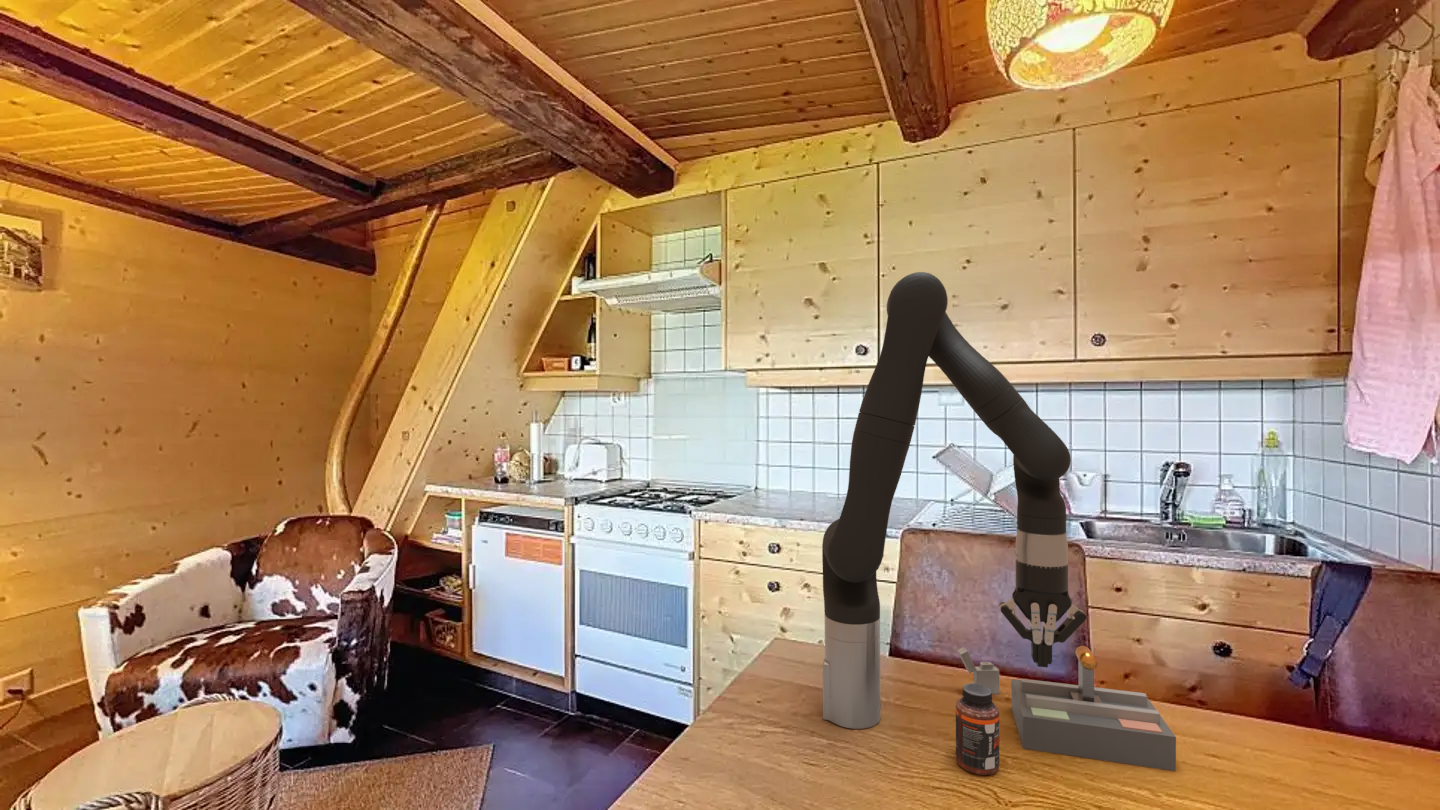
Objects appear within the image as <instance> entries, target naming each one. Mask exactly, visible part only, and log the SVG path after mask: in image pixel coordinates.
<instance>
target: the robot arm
mask: <svg viewBox="0 0 1440 810" xmlns="http://www.w3.org/2000/svg"><path fill="white" fill-rule="evenodd" d="M948 305H949V304H948V294H947V290H946V287H945V285H944V284H943V283H942V281H941V280H940V279H939V278H938V277H937V276H935V275H933V274H932V273H930V272H925V271H917V272H913V273H910V274H908V275H905V276H904V277H902V278H901V279H900V280H898V281H897V282H896V283H895V285H893V287H892V288H891V290H890V293H889V296H888V298H887V301H886V313H887V319H886V326H885V332H884V338H883V343H882V348H881V351H880V355H879V358H878V361H877V363H876V365H875V368H874V370H873V372H872V375H871V378H870V379H869V382H868V384H867V387H866V389H865V393H864V395H863V397H862V401H861V404H860V407H859V412H858V415H857V418H856V423H855V426H854V430H853V435H852V441H851V446H850V458H849V473H848V485H847V492H846V497H845V500H844V504H843V507H842V509H841V513H840V515H839V518H837V519H836V520H834V521H833V522H831V523H830V524H829V526H827V528H826V530H825V532H824V534H823V537H822V547H821V549H822V552H821V553H822V555H821V556H822V590H823V592H822V593H823V595H822V596H823V604H824V608H823V609H824V611H823V612H824V660H823V662H822V719H823V720H825V721H829V722H832V723H833V724H835V725H837V726H840V727H842V728H843V727H844V728H847V729H852V730H854V729H856V730H861V729H867V728H868V729H869V728H871V727H872V728H873V727H874V726H876V725H877V724H879V722H880V721H881V710H882V709H881V707H882V705H881V704H882V703H881V602H880V598H879V597H880V596H879V590H878V583H877V581H878V580H877V571H878V570H879V568H880V566H881V564H882V563H883V557H884V551H885V546H886V545H885V544H886V538H887V531H888V526H889V520H890V512H891V507H892V503H893V501H894V497H895V493H896V491H897V488H898V484H899V482H900V479H901V477H902V476H901V475H902V471H903V468H904V465H905V462H906V459H907V455H908V452H909V448H910V445H911V442H912V437H913V434H914V430H915V426H916V421H917V417H918V412H919V409H920V403H921V398H922V393H923V392H922V391H923V386H924V385H923V384H924V378H925V374H926V373H925V372H926V367H927V363H928V360H929V358H930V359H931V360H932V361H933V362H934V363H935V364H936V365H937V367H938V368H939V369H940V370H941V371H942V372H943V374H944V375H945V376H946V377H947V379H948V380H949V381H950V383H951V384H952V385H953V386H954V388H955V389H956V390H957V392H958V393H959V394H960V395H961V396H962V398H963V399H964V400H965V402H966V403H967V404H968V406H969V407H970V408H971V409H972V410H973V411H974V412H975V414H976V415H977V416H978V418H979V419H980V420H981V421H982V422H983V423H984V425H985V426H986V427H987V428H988V429H989V430H990V431H991V432H992V433H993V434H995V435H996V436H998V438H999V439H1001V441H1002V442H1003V443H1004V444H1005V446H1006V447H1007V448H1008V450H1009V451H1010V452H1011V453H1012V455H1013V456H1012V458H1013V459H1012V461H1013V462H1012V463H1013V474H1014V482H1015V489H1016V494H1017V495H1016V496H1017V506H1016V509H1017V510H1016V513H1017V514H1016V522H1017V523H1016V527H1017V529H1016V539H1015V550H1014V554H1015V589H1014V591H1013V592H1012V595H1011V597H1012V598H1010V599H1008V600H1007V601H1006V602H1004V601H1002V602H999V603H998V606H999V609H1000V613H1002V614H1003V616H1004V617H1005V619H1007V621H1008V622H1009V624H1011V626H1012V627H1013V628H1014V630H1015V632H1017V633H1018V635H1019V636H1020V637H1021V638H1022V639H1023V640H1028V641H1030V642H1031V643H1030V655H1031V656H1030V657H1031V659H1032V661H1033V663H1035V664H1036V666H1037V667H1040V668H1048V667H1049V665H1052V663H1053V645H1054V644H1055V643H1065V642H1066V641H1067V640H1068V639H1069V638H1070V637H1071V636H1072V635H1073V634H1074V632H1075V631H1076V630H1078V629H1079V627H1080V626H1082V624H1084V622H1085V621H1086V620H1087V619H1088V618H1087V615H1086V613H1085V612H1084V611H1083V609H1081V608H1079V607H1076V606H1075V605H1074V604H1073V600H1072V598H1071V597H1070V595H1069V545H1068V539H1067V507H1066V504H1065V500H1064V498H1063V496H1062V495H1061V488H1060V478H1062V477H1064V475H1066V474H1067V472H1068V471H1069V468H1070V467H1071V459H1072V458H1071V454H1070V451H1069V448H1068V446H1067V445H1066V443H1065V442H1064V441H1063V440H1062V439H1061V438H1060V436H1059V435H1058V434H1057V433H1056V432H1055V431H1054V430H1053V429H1052V428H1051V427H1050V426H1049V425H1048V424H1047V423H1045V422H1044V421H1043V419H1042V418H1040V417H1039V416H1038V414H1036V413H1035V412H1034V411H1033V409H1032V408H1031V407H1030V406H1029V405H1028V403H1027V401H1025V399H1024V398H1023V397H1022V395H1021V394H1020V392H1018V391H1017V390H1016V388H1015V387H1014V386H1013V385H1012V383H1011V382H1010V381H1009V380H1008V379H1007V378H1006V376H1005V375H1003V373H1002V372H1001V371H1000V370H999V369H998V368H997V367H996V366H995V365H994V364H993V363H991V362H990V361H989V360H987V359H986V358H985V357H984V356H983V355H982V354H981V353H980V352H979V351H977V349H975V348H974V347H973V346H972V345H971V344H970V343H969V342H968V341H967V340H966V339H965V337H963V335H962V334H961V333H960V332H959V330H958V329H957V327H955V325H954V324H953V321H952V320H951V318H950V317H949V315H948V314H947V312H946V311H947V309H948ZM1016 606H1017V608H1018V609H1019V610H1020V611H1021V612H1022V614H1023V615H1024V617H1025V618H1026V619H1027V620H1028V623H1029V629H1028V628H1027V627H1026V626H1025V625H1024V624H1023V622H1021V620H1020V619H1019V617H1018V616H1017V613H1018V611H1017V609H1016ZM1065 614H1066V616H1067V617H1066V618H1065V620H1064V621H1063V622H1062V623H1061V624H1060V625H1059V626H1058V627H1057V628H1056V623H1057V622H1059V621H1060V620H1061V618H1062V617H1063V616H1064V615H1065ZM1041 622H1042V625H1041ZM1041 630H1042V631H1041Z"/></svg>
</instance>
